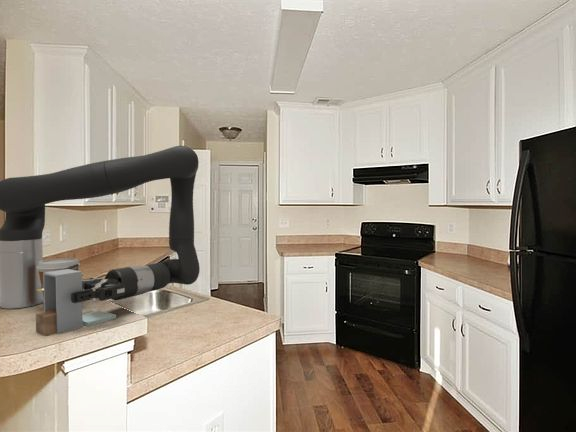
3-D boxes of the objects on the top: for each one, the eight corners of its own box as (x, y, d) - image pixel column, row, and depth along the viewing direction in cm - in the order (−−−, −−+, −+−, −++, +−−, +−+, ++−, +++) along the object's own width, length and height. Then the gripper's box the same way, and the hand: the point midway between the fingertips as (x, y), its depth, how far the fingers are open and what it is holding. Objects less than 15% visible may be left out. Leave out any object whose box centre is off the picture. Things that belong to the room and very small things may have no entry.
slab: (71, 320, 81) (70, 317, 81) (99, 313, 86) (98, 310, 86) (87, 326, 77) (87, 322, 77) (116, 318, 83) (116, 314, 83)
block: (36, 332, 74) (35, 313, 74) (57, 327, 77) (56, 308, 77) (45, 336, 72) (44, 316, 71) (66, 330, 75) (66, 311, 75)
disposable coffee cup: (72, 300, 99) (72, 256, 98) (87, 306, 93) (86, 260, 92) (31, 307, 91) (30, 261, 91) (44, 314, 85) (43, 265, 85)
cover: (44, 328, 76) (43, 272, 75) (69, 322, 80) (68, 269, 80) (57, 333, 73) (56, 275, 72) (82, 326, 77) (81, 271, 77)
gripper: (113, 264, 93) (44, 274, 80) (148, 269, 86) (79, 281, 72) (113, 292, 94) (45, 307, 80) (148, 300, 86) (79, 318, 72)
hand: (61, 295), depth 76 cm, fingers open, 8 cm apart
